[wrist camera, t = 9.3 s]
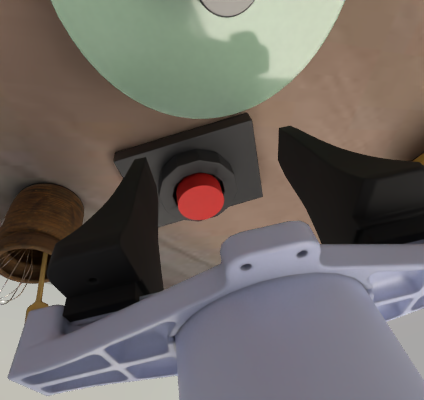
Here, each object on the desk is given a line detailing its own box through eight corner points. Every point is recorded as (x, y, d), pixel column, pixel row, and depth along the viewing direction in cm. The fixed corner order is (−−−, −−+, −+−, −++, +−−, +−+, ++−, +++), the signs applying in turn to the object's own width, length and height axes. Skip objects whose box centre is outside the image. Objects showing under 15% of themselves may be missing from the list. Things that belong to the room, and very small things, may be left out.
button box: (152, 219, 30) (153, 242, 28) (114, 152, 24) (111, 174, 22) (258, 188, 30) (268, 208, 28) (247, 112, 24) (258, 130, 21)
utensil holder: (70, 175, 25) (28, 299, 16) (95, 222, 29) (73, 341, 20) (1, 186, 24) (-80, 320, 16) (37, 233, 29) (-11, 358, 20)
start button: (183, 211, 26) (185, 225, 25) (170, 180, 24) (171, 193, 22) (224, 199, 26) (228, 212, 25) (214, 167, 24) (218, 179, 22)
